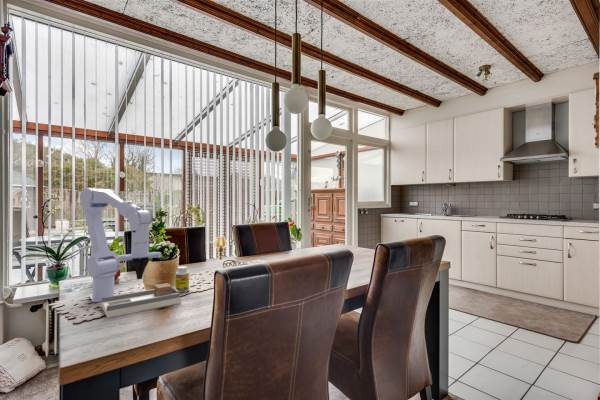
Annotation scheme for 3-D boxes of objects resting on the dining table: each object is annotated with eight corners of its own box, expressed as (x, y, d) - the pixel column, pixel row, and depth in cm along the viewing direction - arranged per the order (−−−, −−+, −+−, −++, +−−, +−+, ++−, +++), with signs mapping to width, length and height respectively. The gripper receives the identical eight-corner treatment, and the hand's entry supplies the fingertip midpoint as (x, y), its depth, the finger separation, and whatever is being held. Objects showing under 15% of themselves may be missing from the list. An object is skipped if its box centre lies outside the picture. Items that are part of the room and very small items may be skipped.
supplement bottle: (173, 292, 129) (173, 268, 129) (177, 288, 135) (177, 265, 135) (187, 292, 130) (187, 268, 130) (190, 288, 136) (190, 265, 136)
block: (154, 295, 119) (154, 285, 119) (167, 292, 122) (167, 282, 122) (157, 298, 115) (158, 287, 115) (171, 295, 118) (171, 285, 119)
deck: (101, 306, 112) (101, 295, 112) (169, 294, 127) (169, 284, 127) (107, 317, 101) (107, 305, 101) (180, 303, 116) (180, 292, 116)
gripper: (120, 245, 106) (119, 284, 106) (163, 242, 115) (163, 277, 115) (116, 242, 111) (115, 279, 111) (158, 240, 121) (157, 274, 120)
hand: (139, 278), depth 113 cm, fingers closed
